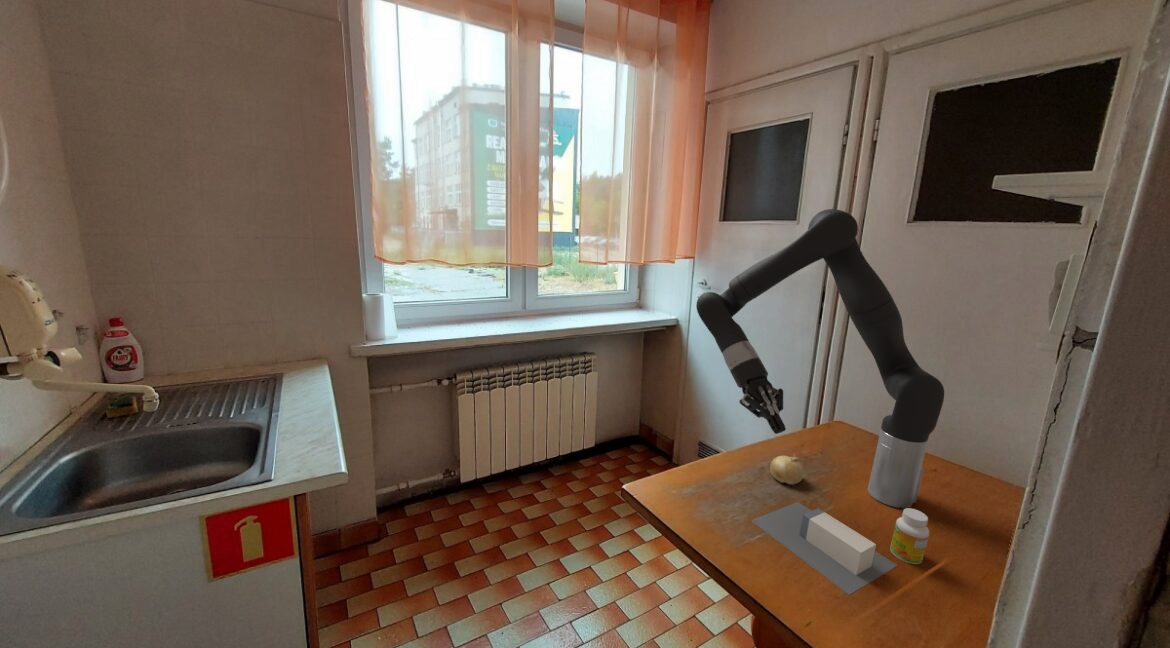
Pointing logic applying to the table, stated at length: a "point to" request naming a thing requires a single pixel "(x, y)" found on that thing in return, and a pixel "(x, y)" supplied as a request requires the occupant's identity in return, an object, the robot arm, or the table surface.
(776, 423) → the robot arm
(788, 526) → the mat
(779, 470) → the onion
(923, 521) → the supplement bottle
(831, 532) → the tall block
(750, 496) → the table surface
